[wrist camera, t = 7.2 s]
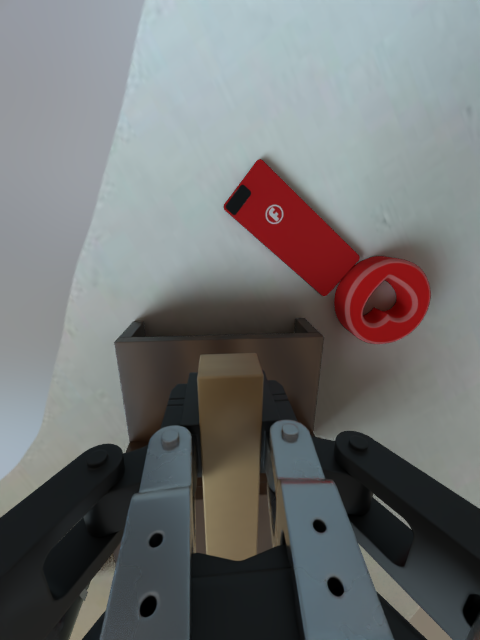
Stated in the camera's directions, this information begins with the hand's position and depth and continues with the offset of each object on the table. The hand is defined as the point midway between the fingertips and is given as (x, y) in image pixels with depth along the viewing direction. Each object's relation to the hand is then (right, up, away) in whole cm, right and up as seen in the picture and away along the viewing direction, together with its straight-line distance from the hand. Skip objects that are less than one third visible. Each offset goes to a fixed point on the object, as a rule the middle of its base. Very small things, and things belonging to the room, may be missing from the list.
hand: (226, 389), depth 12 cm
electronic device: (+6, +12, +16) cm, 22 cm away
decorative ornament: (+17, +6, +20) cm, 26 cm away
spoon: (0, -6, 0) cm, 6 cm away
